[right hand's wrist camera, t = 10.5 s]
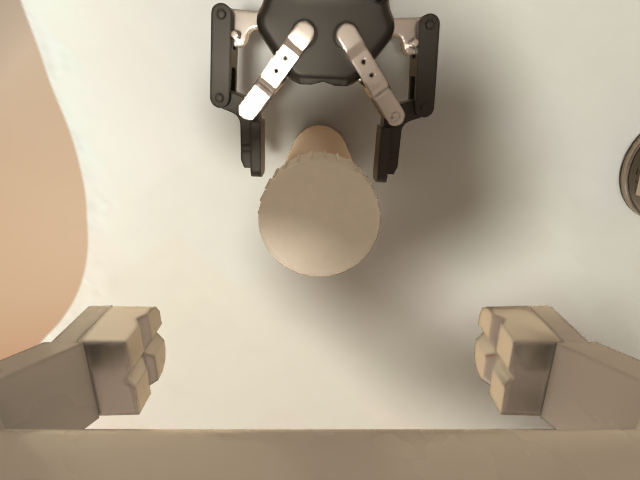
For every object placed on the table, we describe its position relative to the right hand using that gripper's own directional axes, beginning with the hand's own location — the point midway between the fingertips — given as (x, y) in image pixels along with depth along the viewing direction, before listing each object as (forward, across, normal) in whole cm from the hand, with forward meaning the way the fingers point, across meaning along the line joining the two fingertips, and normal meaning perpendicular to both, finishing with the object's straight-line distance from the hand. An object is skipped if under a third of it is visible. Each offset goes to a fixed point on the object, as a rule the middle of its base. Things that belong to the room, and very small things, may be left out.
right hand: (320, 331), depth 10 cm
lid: (+9, 0, 0) cm, 9 cm away
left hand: (+21, 0, -1) cm, 21 cm away
